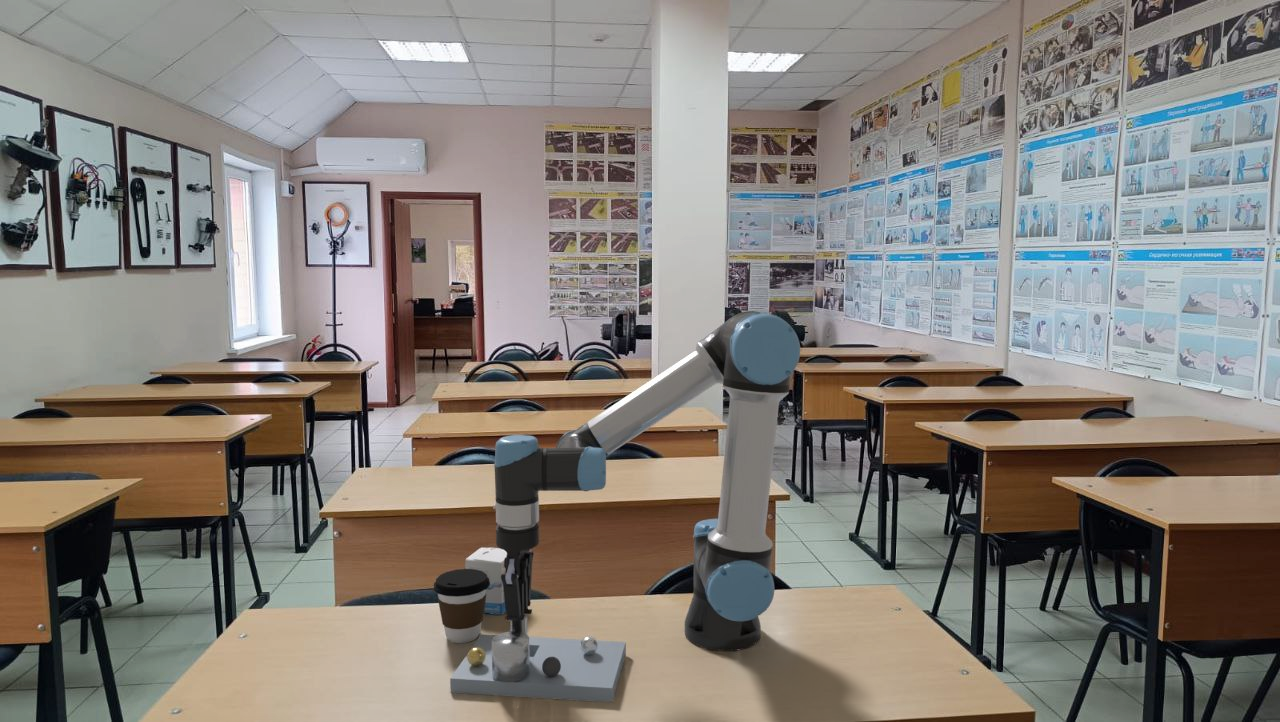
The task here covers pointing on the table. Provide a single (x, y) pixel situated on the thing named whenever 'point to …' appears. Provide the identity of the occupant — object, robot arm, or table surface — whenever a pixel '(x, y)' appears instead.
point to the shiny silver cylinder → (510, 656)
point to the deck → (573, 681)
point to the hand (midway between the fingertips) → (519, 651)
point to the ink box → (490, 576)
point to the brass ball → (476, 656)
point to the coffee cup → (462, 603)
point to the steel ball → (589, 645)
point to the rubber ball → (551, 666)
